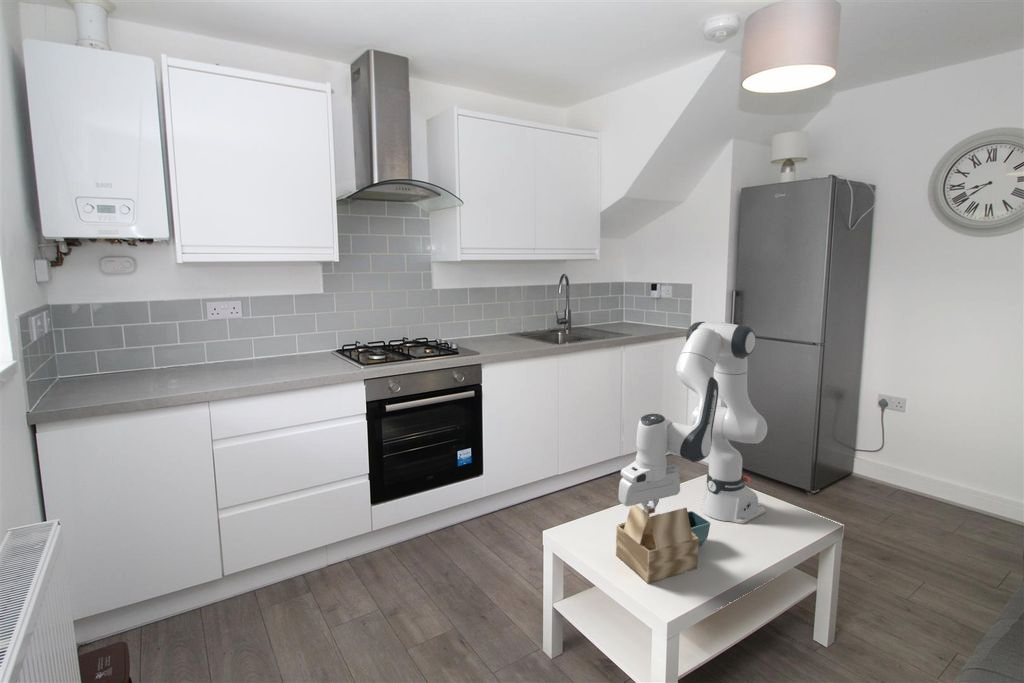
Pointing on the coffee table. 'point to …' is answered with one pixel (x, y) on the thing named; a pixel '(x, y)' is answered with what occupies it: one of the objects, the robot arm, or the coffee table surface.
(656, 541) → the flap left
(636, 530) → the flap front
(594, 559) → the coffee table surface
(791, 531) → the coffee table surface
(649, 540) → the open wooden box
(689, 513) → the flower pot
